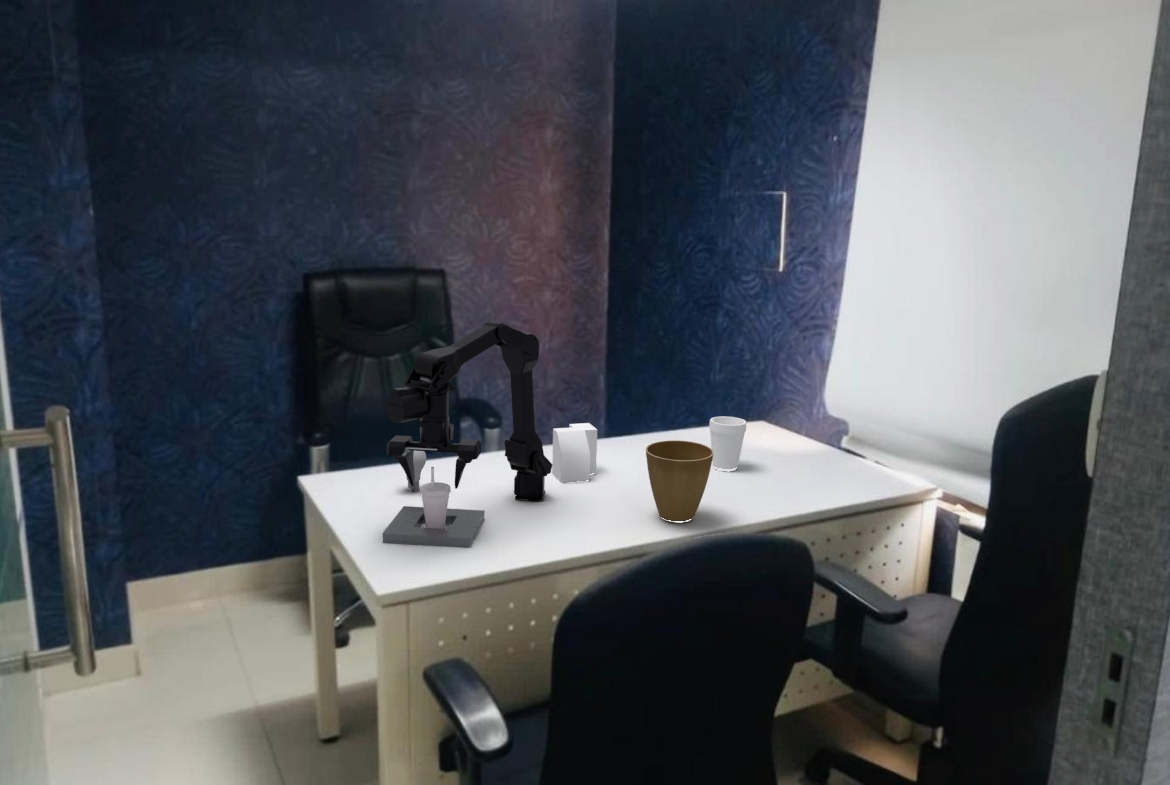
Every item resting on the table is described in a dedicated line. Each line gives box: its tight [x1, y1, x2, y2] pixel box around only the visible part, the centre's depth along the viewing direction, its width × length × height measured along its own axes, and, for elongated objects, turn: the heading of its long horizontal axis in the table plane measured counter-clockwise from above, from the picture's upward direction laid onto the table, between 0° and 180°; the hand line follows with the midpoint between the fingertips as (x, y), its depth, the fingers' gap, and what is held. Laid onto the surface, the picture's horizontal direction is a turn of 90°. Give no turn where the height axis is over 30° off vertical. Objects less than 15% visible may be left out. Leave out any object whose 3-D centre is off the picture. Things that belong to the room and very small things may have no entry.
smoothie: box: [419, 466, 452, 529], centre depth 188 cm, size 6×6×14 cm
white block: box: [551, 422, 598, 484], centre depth 228 cm, size 11×11×12 cm
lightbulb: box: [405, 451, 427, 491], centre depth 213 cm, size 6×6×11 cm
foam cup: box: [708, 415, 747, 469], centre depth 237 cm, size 10×9×13 cm
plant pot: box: [645, 439, 714, 521], centre depth 199 cm, size 15×15×16 cm
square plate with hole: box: [382, 505, 486, 548], centre depth 189 cm, size 18×16×2 cm
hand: (434, 486), depth 187 cm, fingers open, 9 cm apart
